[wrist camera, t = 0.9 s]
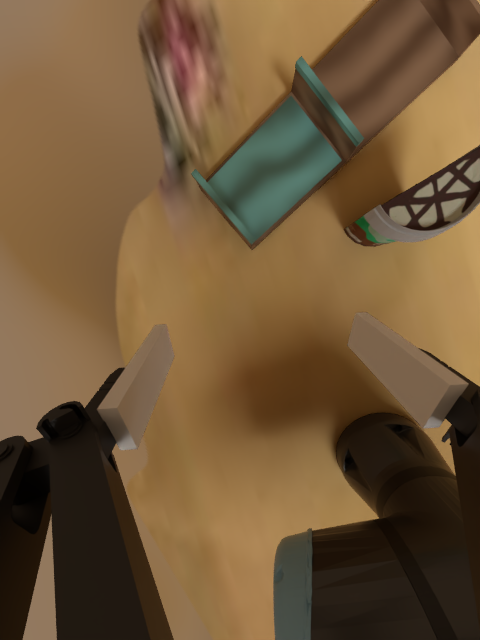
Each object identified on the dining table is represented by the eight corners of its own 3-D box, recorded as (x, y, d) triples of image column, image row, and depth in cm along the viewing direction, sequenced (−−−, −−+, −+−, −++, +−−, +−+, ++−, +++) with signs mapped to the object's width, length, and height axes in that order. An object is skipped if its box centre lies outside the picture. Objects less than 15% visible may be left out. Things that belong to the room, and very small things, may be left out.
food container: (352, 270, 31) (400, 260, 21) (334, 235, 30) (374, 207, 20) (430, 226, 29) (522, 193, 19) (413, 188, 28) (498, 133, 19)
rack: (454, 62, 26) (497, 13, 21) (251, 250, 31) (251, 243, 27) (399, -16, 25) (432, -83, 21) (200, 191, 30) (191, 173, 26)
